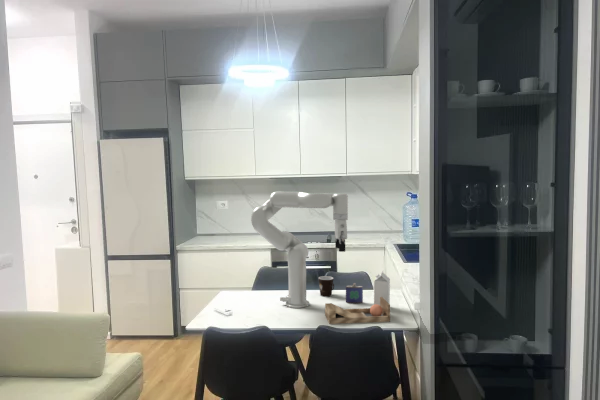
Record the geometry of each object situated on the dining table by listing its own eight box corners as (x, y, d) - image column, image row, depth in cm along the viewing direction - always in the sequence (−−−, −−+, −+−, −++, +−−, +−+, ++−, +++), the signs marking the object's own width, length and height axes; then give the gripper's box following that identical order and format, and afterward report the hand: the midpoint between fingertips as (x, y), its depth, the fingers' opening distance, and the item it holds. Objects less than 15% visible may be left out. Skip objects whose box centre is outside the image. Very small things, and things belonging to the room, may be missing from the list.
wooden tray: (329, 324, 193) (329, 307, 193) (325, 314, 206) (325, 299, 205) (389, 321, 196) (390, 304, 196) (381, 312, 209) (382, 297, 208)
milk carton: (389, 306, 218) (389, 271, 216) (387, 311, 211) (388, 274, 210) (376, 305, 220) (376, 270, 219) (373, 309, 213) (374, 273, 212)
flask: (362, 301, 226) (362, 282, 226) (363, 303, 223) (363, 284, 223) (345, 301, 227) (345, 282, 226) (345, 303, 224) (345, 283, 223)
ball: (372, 319, 199) (384, 317, 199) (371, 307, 198) (383, 305, 199) (369, 315, 205) (380, 313, 205) (367, 303, 204) (379, 301, 205)
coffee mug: (317, 293, 243) (317, 276, 242) (332, 292, 244) (332, 275, 243) (320, 299, 231) (320, 281, 231) (335, 298, 232) (335, 281, 232)
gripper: (351, 218, 207) (351, 252, 208) (344, 215, 224) (344, 246, 225) (336, 219, 206) (336, 253, 207) (330, 215, 223) (330, 247, 224)
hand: (340, 249), depth 216 cm, fingers open, 9 cm apart
